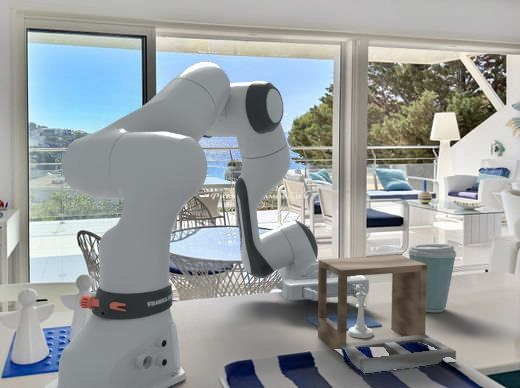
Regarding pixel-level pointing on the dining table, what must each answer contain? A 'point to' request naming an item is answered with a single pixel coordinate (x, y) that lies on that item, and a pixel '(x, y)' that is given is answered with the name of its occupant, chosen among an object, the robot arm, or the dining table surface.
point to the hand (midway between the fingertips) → (339, 295)
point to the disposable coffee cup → (435, 272)
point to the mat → (348, 320)
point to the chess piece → (360, 318)
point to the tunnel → (403, 312)
